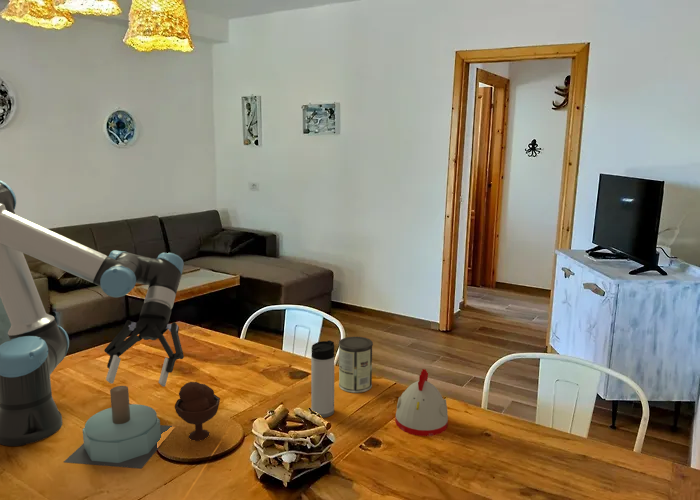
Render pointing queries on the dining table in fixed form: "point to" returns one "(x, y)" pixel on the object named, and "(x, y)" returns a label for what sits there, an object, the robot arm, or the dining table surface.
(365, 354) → the coffee can
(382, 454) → the dining table surface
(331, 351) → the travel mug
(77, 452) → the mat
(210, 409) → the ice cream bowl
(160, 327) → the robot arm
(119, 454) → the lid
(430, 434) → the kitchen timer
